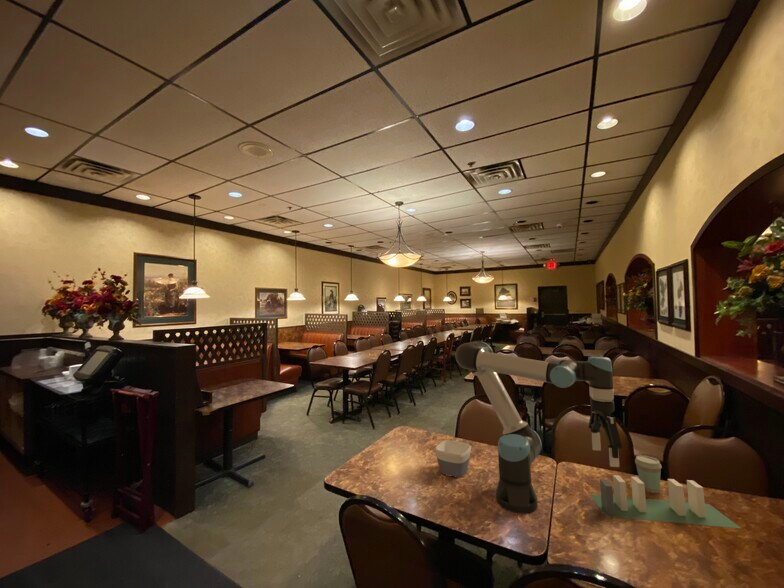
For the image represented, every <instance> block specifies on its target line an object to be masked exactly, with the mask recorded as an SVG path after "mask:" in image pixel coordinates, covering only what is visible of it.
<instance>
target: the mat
mask: <svg viewBox="0 0 784 588" xmlns="http://www.w3.org/2000/svg"><path fill="white" fill-rule="evenodd" d="M589 496H590V497H591V499H592V500H593V501H594V503H595V504H596V505H597V506H598V508H599V510H600V511H601V512H602V513H603V515H604V516H605V517H608V518H609V517H611V518H621V519H622V518H623V519H631V520H643V521H652V522H653V521H654V522H664V523H666V522H667V523H675V524H684V525H685V524H687V525H697V526H709V527H720V528H729V529H730V528H731V529H742V527H741V526H739V525H738V524H736V523H735V522H734V521H732V520H731V519H730V518H728V517H727V516H725V515H724V514H723V513H721V512H720V511H719V510H718V509H716V507H713V505H712V504H710V503H705V512H706V518H702V517H698V516H697V515H696V514H695V513H694V512H692V511H691V510H690V509H689V502H687V501H685V512H686V516H679V515H678V514H677V513H676V512H675V511H674V510H673V509H671V508H670V501H669V500H667V499H666V500H663V499H651V498H646V510H647V513H645V512H640V511H639V510H638V509H637V508H636V507H635V506H634V505H633V499H632V497H627V507H628V511H622V510H621V509H620V508H619V507H618V506H617V504H616V503H615V497H614V495H613V503H614V516H608V515H607V513H606V512H605V511H604V509H603V508H602V501H601V494H589Z"/></svg>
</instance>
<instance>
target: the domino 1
mask: <svg viewBox="0 0 784 588" xmlns="http://www.w3.org/2000/svg"><path fill="white" fill-rule="evenodd" d="M612 478H613V479H612V480H613V496H614V497H615V503H616V504H617V506H618V507H619V508H620V509H621V510H622V511H628V507H627V496H628V494H627V485H626V484H627V483H626V481H625V480H624V479H623V478H622V476H620V475H616V474H614V475H613V474H612Z"/></svg>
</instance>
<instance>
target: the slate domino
mask: <svg viewBox="0 0 784 588" xmlns="http://www.w3.org/2000/svg"><path fill="white" fill-rule="evenodd" d="M599 485H600V487H599V488H600V495H601V501H602V508H603V509H604V511H605V512H606V513H607V515H608V516H614V503H613V496H614V489H613V485H611V484H610V482H609V481H608V480H607V479H603V478H602V479H601V478H600V479H599ZM608 516H607V517H608Z"/></svg>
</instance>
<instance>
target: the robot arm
mask: <svg viewBox="0 0 784 588" xmlns="http://www.w3.org/2000/svg"><path fill="white" fill-rule="evenodd" d="M454 355H455V356H454V357H455V361H456V362H457V364H458V366H460V367H461V368H462V369H465V370H469V371H470V372H471V374H472V375H474V376H476V377H477V379H478V380H479V383H481V387H482V388H483V390H484V392H485V394H486V395H487V398H488V399H489V402H490V404H491V406H492V408H493V410H494V411H495V414H496V415H497V417H498V420H499V421H500V423H501V426H502V427H503V431H502V436H500V438H499V439H498V441H497V456H498V473H499V474H498V475H499V476H498V478H499V480H498V483H497V485H496V489H495V501H496V503H497V504H498V505H499V506H500V507H501V508H503V509H505V510H507V511H510V512H513V513H517V514H529V513H533V512H534V511H537V508H538V496H537V495H536V492H535V489H534V486H533V483H532V471H531V470H532V469H531V467H532V466H531V465H532V464H533V463H534V461H535V460H536V459H537V458H538V457H539V455H540V453H541V450H542V440H541V438H540V436H539V434H538V433H537V432H536V430H534V429H532V428H531V427H530V425H529V423H528V422H527V421H525V420H522V418H521V416H520V414H519V411H518V410H517V408H516V406H515V404H514V403H513V400H512V398H511V397H510V395H509V393H508V391H507V389H506V388H505V386H504V384H503V382H502V379H501V377H500V376H499V374H503V375H509V376H513V377H518V378H523V379H529V380H533V381H537V382H538V381H539V382H544V383H549V384H553V385H554V386H555V387H558V388H562V389H565V388H569V387H571V386H572V385H574V383H575V382H576V381H578V382H579V381H580V382H588V383H589V386H588V388H589V389H588V390H589V391H588V392H589V397H590V398H589V402H590V416H589V420H588V421H589V422H588V429H590V432H591V447H592V451H602V446H601V428H602V429H603V430H604V433H605V436H606V438H607V441H608V444H609V445H608V446H607V447H608V458H609V459H608V460H609V466H610V467H611V468H612V467H613V468H620V455H619V450H620V449H621V450H622V449H623V445H622V441H621V437H620V434H619V431H618V427H617V420H616V417H611V413H613V412H615V408H616V407H615V401H614V399H615V396H614V395H615V394H614V393H615V390H614V374H613V366H612V365H613V364H612V360H611V359H610V358H609V357H605V356H592V355H591V356H588V357H587V360H586V361H583V360H582V361H581V360H570V359H555V360H554V361H553V362H550V361H544V360H537V359H531V358H525V357H519V356H513V355H508V354H507V355H506V354H501V353H495V352H493V349H492V347H491V346H490V344H488V343H486V342H484V341H482V340H473V341H471V342H465V343H462V344H460V345H459V346H458V347H457V348H456V351H455V354H454Z"/></svg>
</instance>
